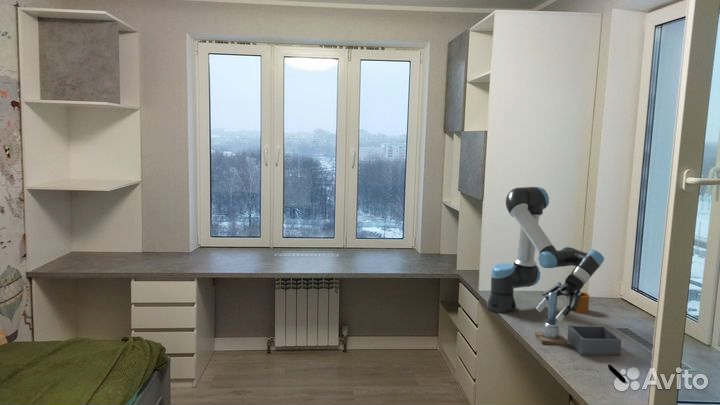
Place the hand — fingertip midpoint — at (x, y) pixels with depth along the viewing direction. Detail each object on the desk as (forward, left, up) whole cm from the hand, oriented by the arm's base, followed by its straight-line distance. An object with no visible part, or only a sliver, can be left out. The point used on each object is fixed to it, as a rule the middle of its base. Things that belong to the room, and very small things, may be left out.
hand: (547, 315), depth 232 cm
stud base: (-1, +2, -12) cm, 12 cm away
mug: (-43, +30, -12) cm, 54 cm away
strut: (-1, +2, -9) cm, 9 cm away
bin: (+8, +17, -12) cm, 22 cm away
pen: (+33, +16, -12) cm, 39 cm away
